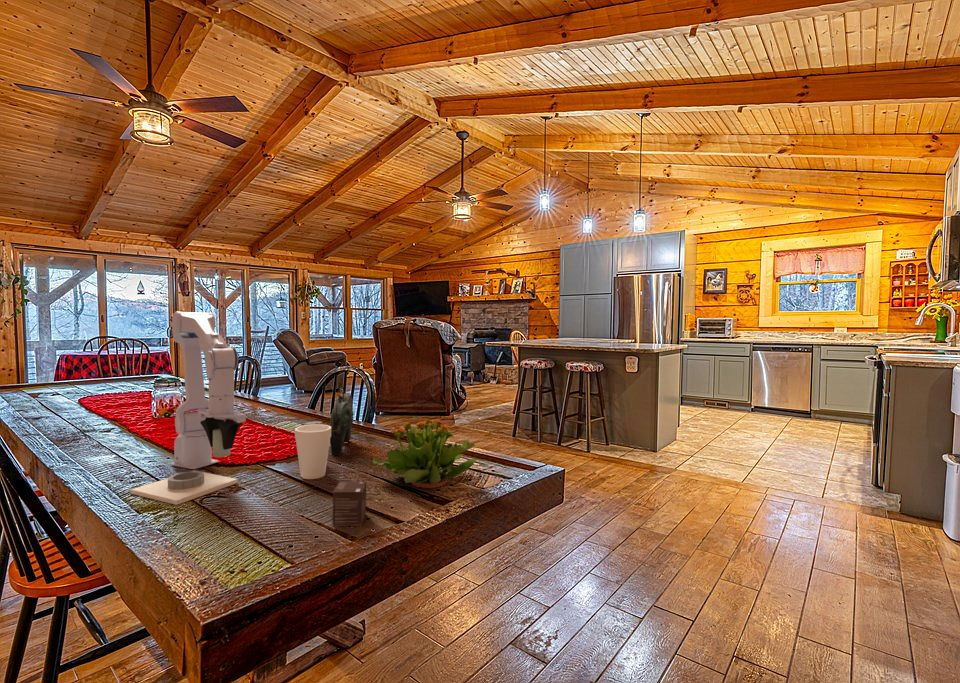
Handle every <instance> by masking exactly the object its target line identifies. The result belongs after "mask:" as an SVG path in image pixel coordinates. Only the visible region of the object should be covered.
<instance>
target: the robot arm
mask: <svg viewBox="0 0 960 683" xmlns="http://www.w3.org/2000/svg"><path fill="white" fill-rule="evenodd" d="M171 318H172V319H171V328H172V329H171V331H172V337H173V342H175V343H177V344H179V345H180V348H181V352H182V355H181V356H182V365H183V377H184V389H185V399H186V400H185V401H184V402H182V403H181V404H180V405H178V406H177V408H176V409H175V418H174V426H175V432H176V433H177V434H178V435H177V436H176V437H175V439H174V444H173V445H174V446H173V448H174V452H173V457H174V459H173V460H174V462H172V463H171V466H174V467H179V468H183V469H190V470H196V469H200V468H204V467H206V466H209V465H214V464H216V463H219V461H220V460H218V459H214V458H212V457H213V430H215V429H220V430H221V434H222V442H223V449H224V450H227V449H230V448H231V449H233V446H234V443H235V439H236V437H237V434H238V432H239V429H240V428H241V426H242V425H243V423H245V422H247V421H246V420H247V418H246V417H247V415H246V413H242V412H239V411H236V410H235V370H237V368H238V365H239V355H238V351H237V348H236V347H233V346H228V345H227V343H226V342H225V340H224V338H223V337H222V336H221V335H220V334H219V333H218V332H215V330H216V317H215V314H214V313H213V312H211V311H207V312H199V311H197V312H196V311H195V312H194V311H191V312H190V311H179V310H176V311H175V312H174V313H173V314H172V317H171ZM202 354H203V355H204V364H205V369H206V377H207V378H208V399H207V398H206V393H205V382H204V379H205V378H204V372H203V371H204V370H203V358H202Z"/></svg>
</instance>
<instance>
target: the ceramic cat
mask: <svg viewBox="0 0 960 683" xmlns="http://www.w3.org/2000/svg"><path fill="white" fill-rule="evenodd" d="M339 391H340V392H341V394H337V395H336V400H335V404H334V406H333V408H332V411H331V415H330V422H329V426H331V437H330V444H329V445H330V453H331V456H340V455H342V454H343V447H344V444H345V443H344V442H349V443H350V441H351V434H352V433H351V432H352V431H351V430H352V426H353V423H354V409H353V407H354V406H353V405H354V404H353V396H352V394H350V393H345V388H344V387H340V388H339ZM349 440H350V441H349Z"/></svg>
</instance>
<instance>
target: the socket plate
mask: <svg viewBox="0 0 960 683" xmlns="http://www.w3.org/2000/svg"><path fill="white" fill-rule="evenodd" d="M235 484H238V478H235V477H234V478H233V477H229V476H225V475H220V474H214V473H209V472H205V471H199V470H196V469H193V470H190V471H188V470H187V471H183V472H178V473H175V474H171V475H170V476H168V477H167V478H165V479H162V480H158V481H154V482H151V483H148V484H145V485H141V486H139V487H136V488H131V489H130V494H131V495H136V496H139V497H144V498H148V499H152V500H156V501H159V502H163V503H168V504H172V505H175V506H177V505H180V504H183V503H185V502H188V501H191V500H194V499H196V498H200V497H202V496H203V497H204V496H205V495H208V494H211V493H213V492H216V491H219V490H222V489H224V488H228V487H230V486H233V485H235Z"/></svg>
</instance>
